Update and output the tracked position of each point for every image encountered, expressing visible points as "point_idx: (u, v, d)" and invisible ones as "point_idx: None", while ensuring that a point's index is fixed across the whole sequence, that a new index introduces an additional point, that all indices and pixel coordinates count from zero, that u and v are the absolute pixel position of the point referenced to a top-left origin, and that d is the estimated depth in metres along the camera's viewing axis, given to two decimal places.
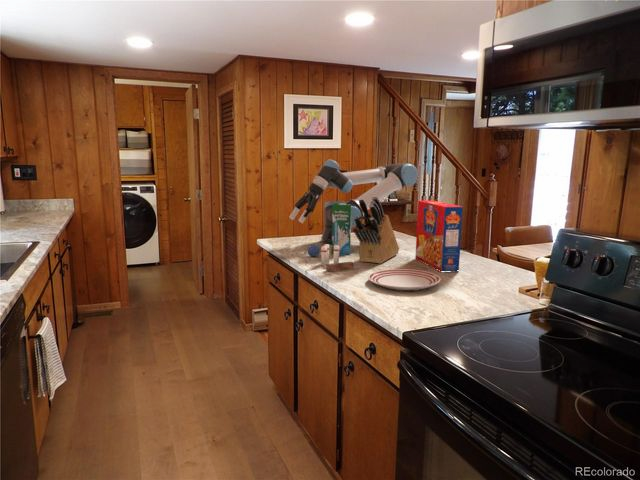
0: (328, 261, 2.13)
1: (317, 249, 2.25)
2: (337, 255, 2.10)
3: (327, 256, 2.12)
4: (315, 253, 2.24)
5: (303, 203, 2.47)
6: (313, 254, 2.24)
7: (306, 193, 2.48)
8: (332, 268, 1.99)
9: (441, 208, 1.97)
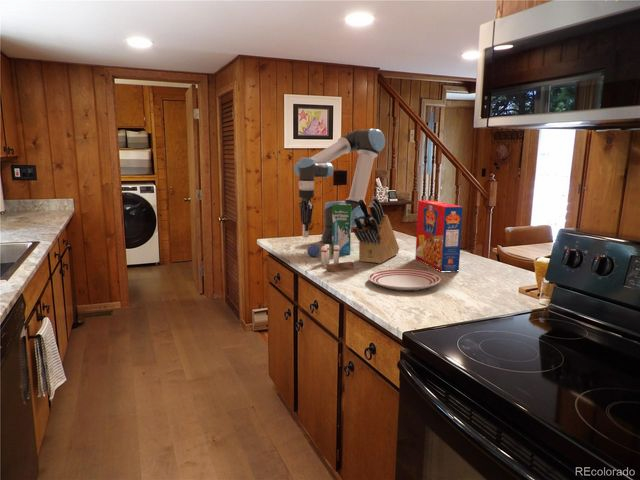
0: (328, 261, 2.13)
1: (317, 249, 2.25)
2: (337, 255, 2.10)
3: (327, 256, 2.12)
4: (315, 253, 2.24)
5: None
6: (313, 254, 2.24)
7: (300, 203, 2.36)
8: (332, 268, 1.99)
9: (441, 208, 1.97)
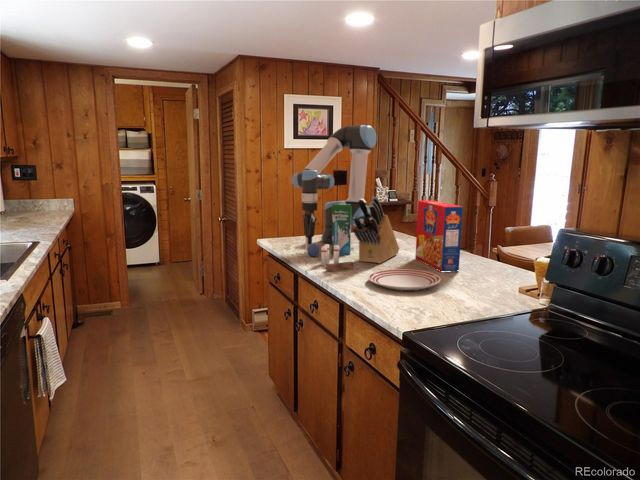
0: (328, 261, 2.13)
1: (317, 249, 2.25)
2: (337, 255, 2.10)
3: (327, 256, 2.12)
4: (315, 253, 2.24)
5: None
6: (313, 254, 2.24)
7: (303, 216, 2.32)
8: (332, 268, 1.99)
9: (441, 208, 1.97)
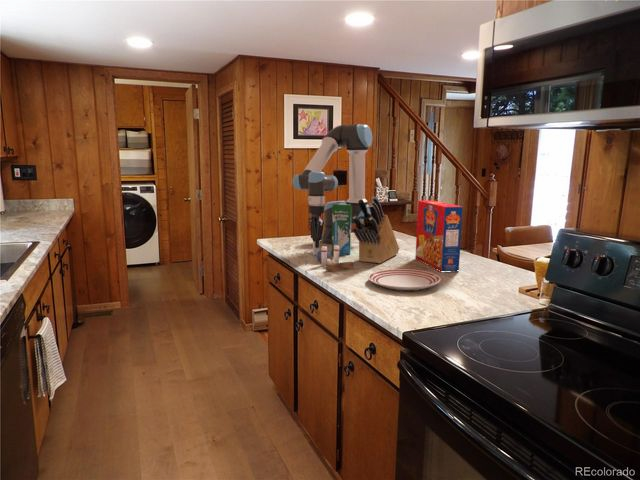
0: None
1: None
2: (337, 255, 2.10)
3: None
4: None
5: None
6: None
7: (310, 219, 2.26)
8: (332, 268, 1.99)
9: (441, 208, 1.97)
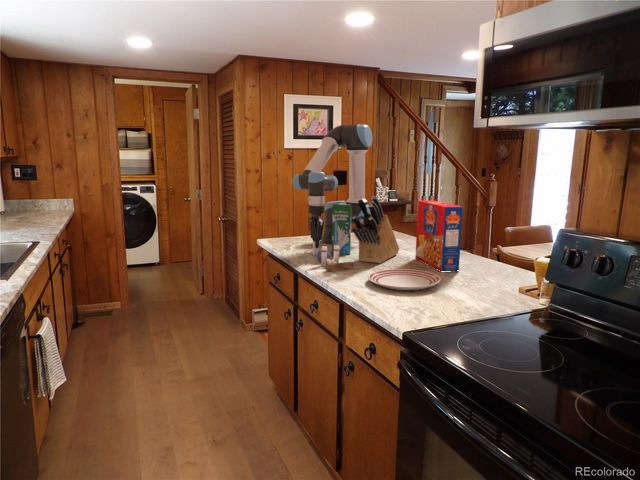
0: None
1: None
2: (337, 255, 2.10)
3: None
4: None
5: None
6: None
7: (310, 219, 2.26)
8: (332, 268, 1.99)
9: (441, 208, 1.97)
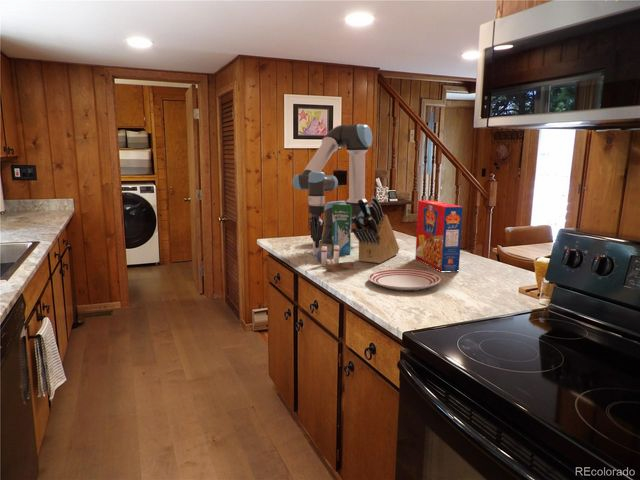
0: None
1: None
2: (337, 255, 2.10)
3: None
4: None
5: None
6: None
7: (310, 219, 2.26)
8: (332, 268, 1.99)
9: (441, 208, 1.97)
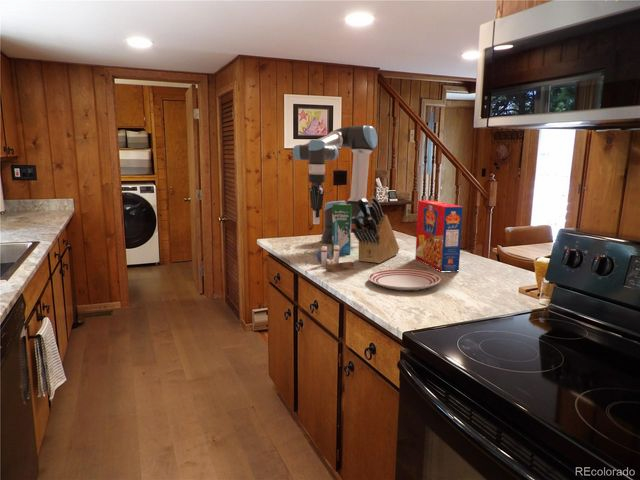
0: None
1: None
2: (337, 255, 2.10)
3: None
4: None
5: None
6: None
7: (310, 188, 2.23)
8: (332, 268, 1.99)
9: (441, 208, 1.97)
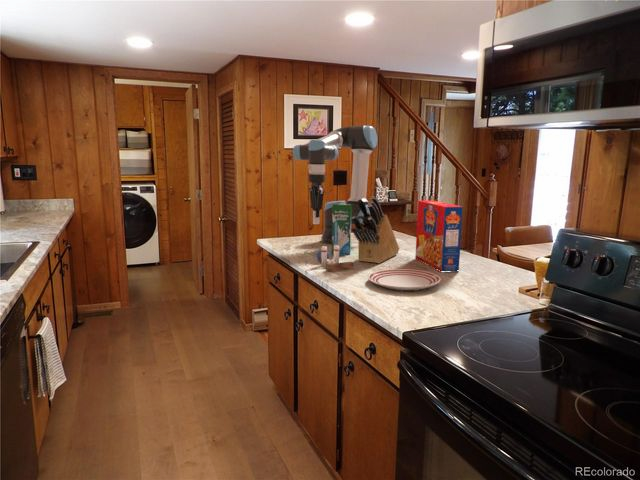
0: None
1: None
2: (337, 255, 2.10)
3: None
4: None
5: None
6: None
7: (310, 188, 2.23)
8: (332, 268, 1.99)
9: (441, 208, 1.97)
